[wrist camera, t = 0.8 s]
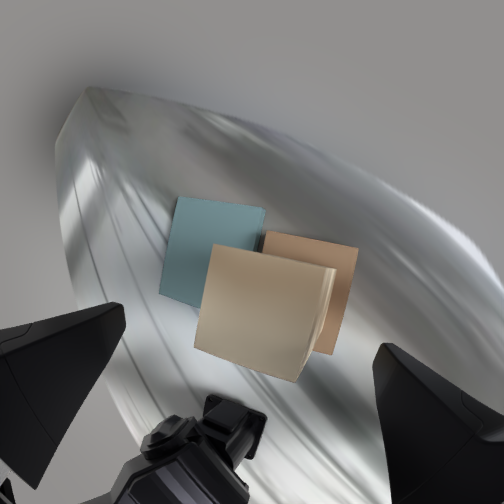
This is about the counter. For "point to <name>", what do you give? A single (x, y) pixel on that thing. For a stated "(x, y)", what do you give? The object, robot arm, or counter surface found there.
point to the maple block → (263, 310)
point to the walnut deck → (323, 256)
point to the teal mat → (204, 243)
